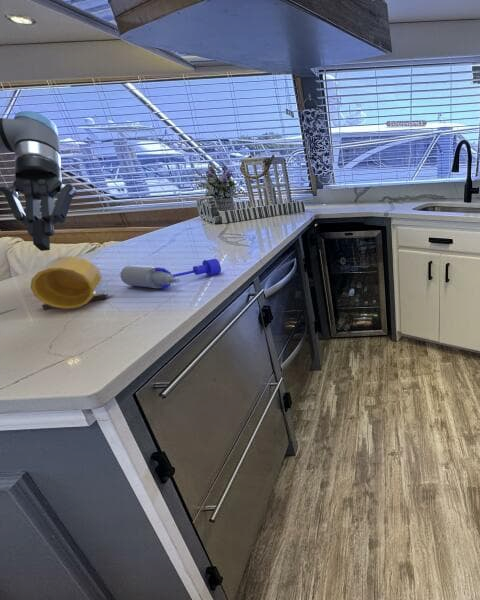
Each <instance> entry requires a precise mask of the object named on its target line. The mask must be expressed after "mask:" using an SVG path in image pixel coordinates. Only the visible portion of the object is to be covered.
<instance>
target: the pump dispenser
mask: <svg viewBox="0 0 480 600" xmlns="http://www.w3.org/2000/svg"><path fill="white" fill-rule="evenodd" d="M221 270H222V266H221V263H220V261H219V260H218V259H217V258H215V257H212V258H208V259H204V260H202V263H201V264H199V265H193V266H192V269H191V270H187V271H183V272H178V273H173V274H172V272H171V271H169V270H168V269H166V268H165V267H159V266H148V265H137V264H136V265H134V264H131V265H127V266H124V267H123V268H122V269H121V271H120V279H121V281H122V282H123V283H124V284H126V285H127V286H133V287H143V288H151V289H152V288H153V289H161V290H165V289H166V288H169V287H170V286H171V284H174V283H176V284H177V283H178V284H179V283H180V281H181V280H180V279H179V278H178V277H182V276H186V275H191V274H194V275H195V276H198V275H203V274H206V275H207V276H209V277H210V276H214V275H218V274H221V272H222V271H221Z"/></svg>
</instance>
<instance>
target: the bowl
mask: <svg viewBox="0 0 480 600" xmlns="http://www.w3.org/2000/svg"><path fill="white" fill-rule="evenodd" d="M30 281H31V282H30V290H31V291H32V293H33V296H34V297H36V299H38V300H39V301H40V302H42V304H44V303H45V304H48V305H50V306H53V307H56V308H59V309H67V310H69V309H77V308H80V307H82V306H84V305H87V304H88V303H90V302H91V301H90V300H91V299H92V297H93V296H94V295H95V294H97V292H98V290H99V288H101V285H102V282H103V275H102V273H101V271H100V269H99V268H98V267H97V266H96V265H95V264H94V263H92V262H91V261H88V260H86V259H84V258H82V257H78V256H77V257H76V256H60V257H57V258H54V259H52V260H50V261H49V262H48V263H46V265H44V266H43V267H42V268H41V269H40V270H39V271H38V272H37V273H36V274H35V275H34V276H33V277H32V278H31V280H30ZM89 301H90V302H89Z"/></svg>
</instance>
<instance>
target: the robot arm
mask: <svg viewBox="0 0 480 600" xmlns="http://www.w3.org/2000/svg"><path fill="white" fill-rule="evenodd" d="M58 131H59V130H58V127H57V125H56V123H54V121H53V120H52V119H51V118H49V117H47V116H46V115H44V114H42V113H39V112H36V111H33V110H23V111H18V112H17V113H15V115H14V117H13V118H7V117H0V152H6V153H7V152H9V153H14V177H15V180H14V181H13V182H12V185H11V186H9V187H5V186H0V193H1V194H2V195H4V197H5V199H6V201H7V203H8V206H9V208H10V211H11V213H12V215H13V217H14V219H15V220H17V222H19V224H20V225H22V226H24V227H26V226H27V229H26V230H27V233H28V235H30V236H31V237H32V244H33V245H34V246H35V247H36V249H38V250H39V251H40V252H44V251H50V250H51V241H50V239H51V238H50V237H53V236H55V225H56V224H58V223H61V224H64V223H65V222H66V219H67V216H68V213H69V209H70V207H71V203H72V200H73V198H74V197H75V196H76V195H77V194H78V191H77V190H76V188H75V187H74V186H73V185H72V184H71V183H67V184H65V183H63V180H62V179H63V178H62V171H61V170H62V165H61V154H60V152H61V151H60V141H61V139H60V137H59V133H58ZM18 192H19V193H21V194H22V195H23V196H24V197H25V199H24V200H25V210H24V208H23V206H22V204H21V202H20V200H19V199H18V198H19V193H18ZM57 195H58V196H57ZM56 196H57V199H56ZM40 211H41V212H40Z"/></svg>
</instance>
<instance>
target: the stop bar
mask: <svg viewBox="0 0 480 600" xmlns="http://www.w3.org/2000/svg"><path fill="white" fill-rule="evenodd" d="M108 298H109V294H108V292H101V293H95V294H94V296H93V297H92V299H91V300H90V301H89V302H88V303H91V302H95V301H101V300H106V299H108ZM41 306H42V309H43V310H50V309H55V308H57V307H53V306H50V305H48V304H45V303H42V304H41Z"/></svg>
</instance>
